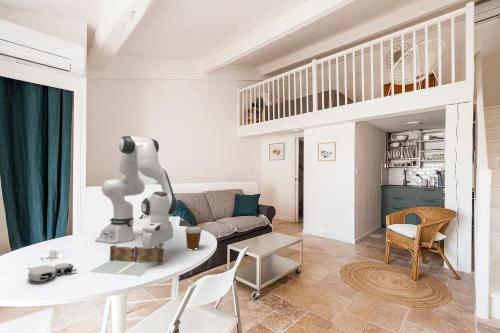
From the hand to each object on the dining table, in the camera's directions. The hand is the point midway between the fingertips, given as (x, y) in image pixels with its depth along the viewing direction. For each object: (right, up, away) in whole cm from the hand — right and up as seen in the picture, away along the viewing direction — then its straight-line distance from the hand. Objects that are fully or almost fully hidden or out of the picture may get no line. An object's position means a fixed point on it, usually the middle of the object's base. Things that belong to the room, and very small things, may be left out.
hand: (158, 252), depth 122 cm
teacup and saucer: (-55, -4, +3) cm, 56 cm away
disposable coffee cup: (+12, -6, +21) cm, 25 cm away
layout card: (-12, -4, -6) cm, 14 cm away
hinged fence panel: (-3, -3, -3) cm, 6 cm away
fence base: (-17, -4, -2) cm, 17 cm away
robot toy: (-38, -4, -19) cm, 43 cm away
